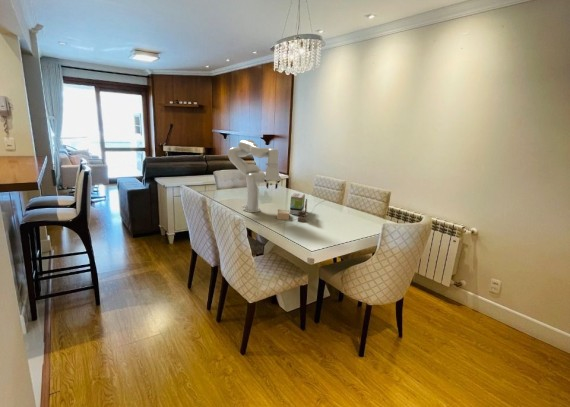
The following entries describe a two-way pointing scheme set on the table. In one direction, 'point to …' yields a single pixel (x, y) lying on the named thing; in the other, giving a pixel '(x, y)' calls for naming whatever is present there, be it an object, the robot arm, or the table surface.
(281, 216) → the carton
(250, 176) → the robot arm
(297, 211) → the tea box
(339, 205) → the table surface
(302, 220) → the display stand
